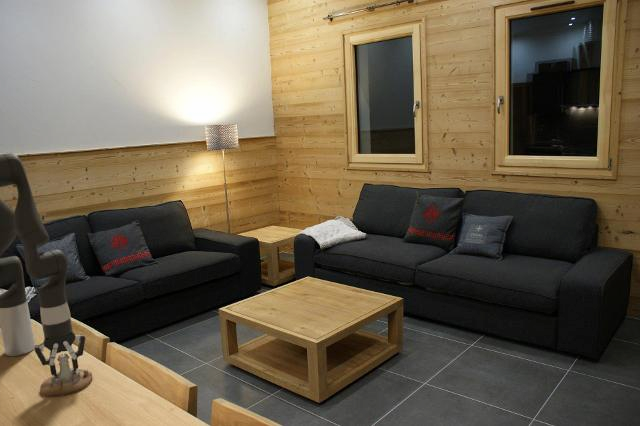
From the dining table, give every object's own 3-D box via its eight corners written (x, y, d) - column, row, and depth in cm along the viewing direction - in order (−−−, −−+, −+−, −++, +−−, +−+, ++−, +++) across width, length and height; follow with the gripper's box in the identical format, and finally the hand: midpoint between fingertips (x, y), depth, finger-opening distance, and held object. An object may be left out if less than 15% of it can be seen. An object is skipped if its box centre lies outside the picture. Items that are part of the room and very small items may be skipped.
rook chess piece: (78, 377, 162) (74, 352, 160) (66, 385, 157) (62, 359, 156) (66, 376, 163) (62, 351, 162) (54, 383, 159) (50, 357, 157)
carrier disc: (39, 382, 163) (37, 372, 162) (88, 368, 170) (87, 359, 169) (42, 402, 151) (40, 391, 150) (95, 386, 158) (94, 376, 157)
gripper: (80, 309, 163) (89, 361, 166) (27, 320, 156) (37, 375, 159) (84, 316, 157) (92, 370, 160) (29, 329, 150) (39, 385, 153)
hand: (65, 372), depth 160 cm, fingers open, 4 cm apart
